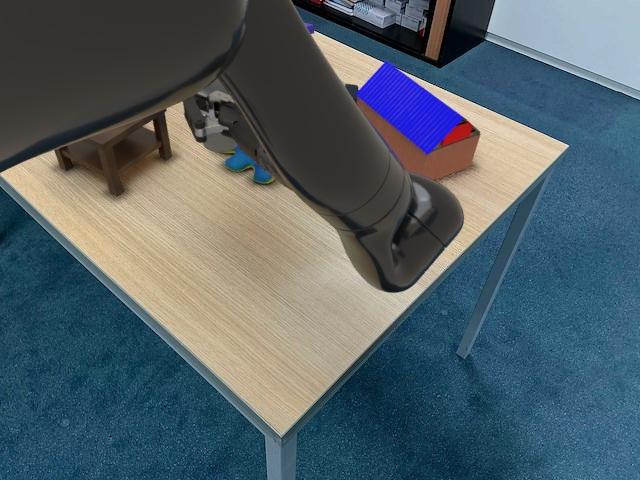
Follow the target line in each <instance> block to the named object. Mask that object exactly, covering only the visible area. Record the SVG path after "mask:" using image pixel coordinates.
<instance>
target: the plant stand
mask: <svg viewBox="0 0 640 480" xmlns="http://www.w3.org/2000/svg"><path fill="white" fill-rule="evenodd" d="M167 111H168V108H166V109H164V110H162V111H159V112H157V113H155V114H152V115H150V116H147V117H144V118H142V119H139V120H136V121H134V122H131V123H128V124H125V125H123V126H120V127H117V128H114V129H112V130H109V131H106V132H103V133H100V134H98V135H95V136H92V137H89V138H86V139H84V140H81V141H78V142H75V143H72V144H70V145H67V146H64V147H61V148H59V149H56V150H53V151H54V155H55V157H56V160H57V163H58V165H59V168H60V169H62V170H64V171H65V172H66V171H69V170H71V169H72V168H74V166H75V165H74V163H73V161H74V162H76V163H77V164H79V165H81V166H84V167H85V168H88V169H90V170H92V171H93V172H96V173H97V174H99V175H102V176H103V177H105V180H106V184H107V187H108V191H109V194H110V195H112V196H114V197H119V196H121V194H123V193H124V192H125V191H124V187H123V183H122V179H121V175H123V174H124V173H125V172H127V171H129V170H130V169H131V168H132V167H134V166H135V165H137V164H138V163H140V162H142V161H143V160H144V159H145V158H147V157H149V156H150V155H151V154H153V153H154V152H155V151H158V156H159V158H160V159H161V160H164V161H167V162H168V160H170V159H172V157H173V153H172V152H173V151H172V147H171V141H170V135H169V130H168V123H167V118H166V112H167ZM151 122H152V124H153V129H154V130H152V129H150V128H147V127H145V126H146V125H147V124H149V123H151Z"/></svg>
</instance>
